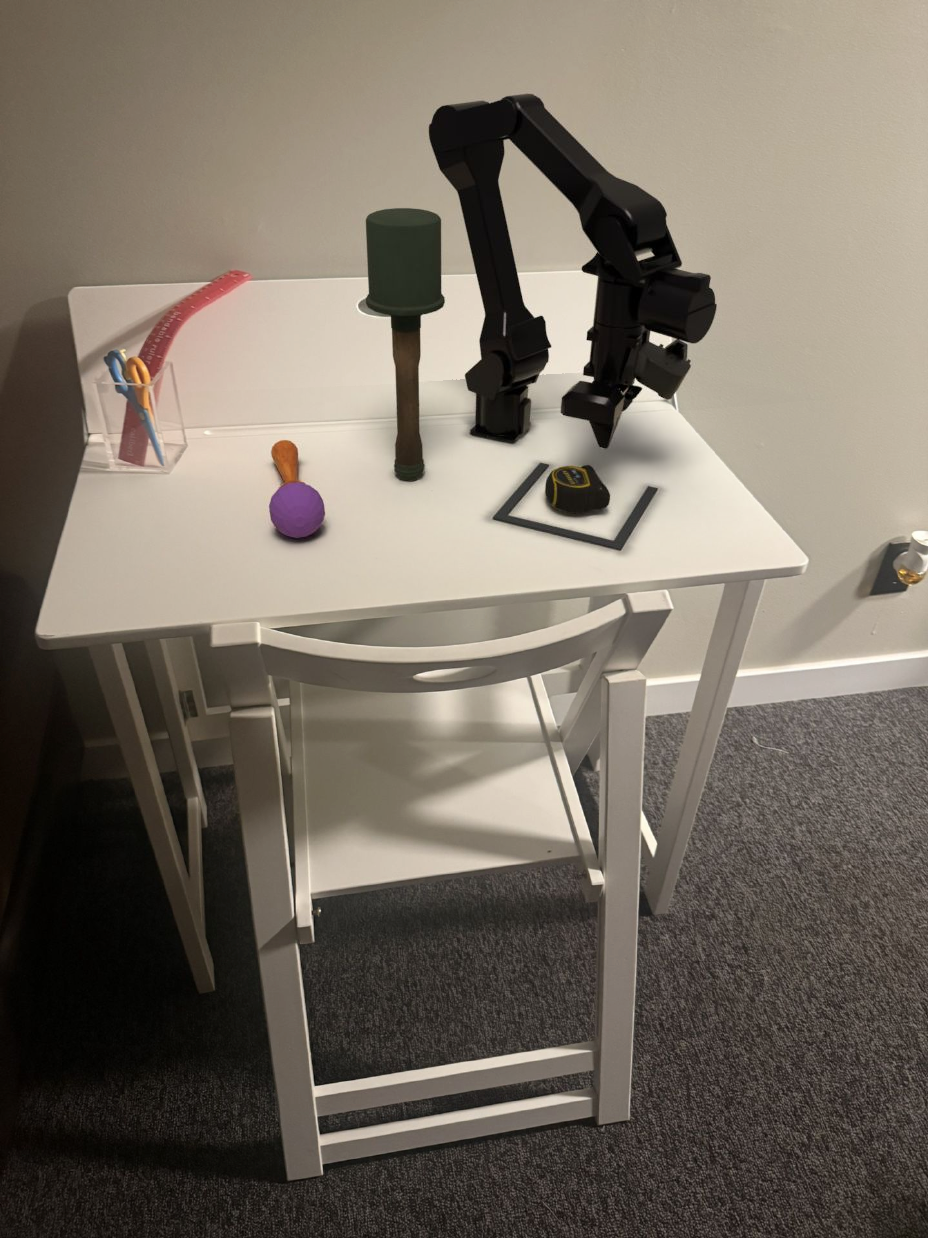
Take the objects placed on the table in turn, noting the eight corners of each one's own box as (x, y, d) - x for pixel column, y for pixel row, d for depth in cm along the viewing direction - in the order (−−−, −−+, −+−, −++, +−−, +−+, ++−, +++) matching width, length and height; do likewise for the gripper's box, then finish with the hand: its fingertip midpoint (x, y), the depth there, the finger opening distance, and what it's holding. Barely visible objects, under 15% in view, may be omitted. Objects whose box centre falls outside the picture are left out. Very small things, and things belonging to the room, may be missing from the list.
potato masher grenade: (447, 461, 114) (448, 207, 96) (439, 494, 107) (439, 227, 89) (381, 457, 115) (370, 204, 97) (369, 490, 108) (354, 224, 90)
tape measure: (610, 517, 104) (613, 488, 101) (552, 521, 103) (554, 492, 100) (592, 488, 109) (596, 460, 107) (537, 492, 108) (540, 464, 106)
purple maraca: (311, 431, 112) (330, 497, 95) (306, 476, 114) (324, 548, 98) (261, 427, 110) (273, 493, 93) (258, 473, 113) (269, 545, 96)
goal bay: (492, 519, 103) (492, 517, 103) (540, 464, 114) (540, 462, 114) (620, 550, 98) (621, 548, 98) (657, 490, 109) (657, 487, 109)
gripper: (667, 359, 92) (647, 494, 101) (709, 306, 105) (687, 430, 115) (564, 341, 95) (553, 473, 105) (617, 293, 109) (603, 414, 118)
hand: (604, 447), depth 110 cm, fingers closed
